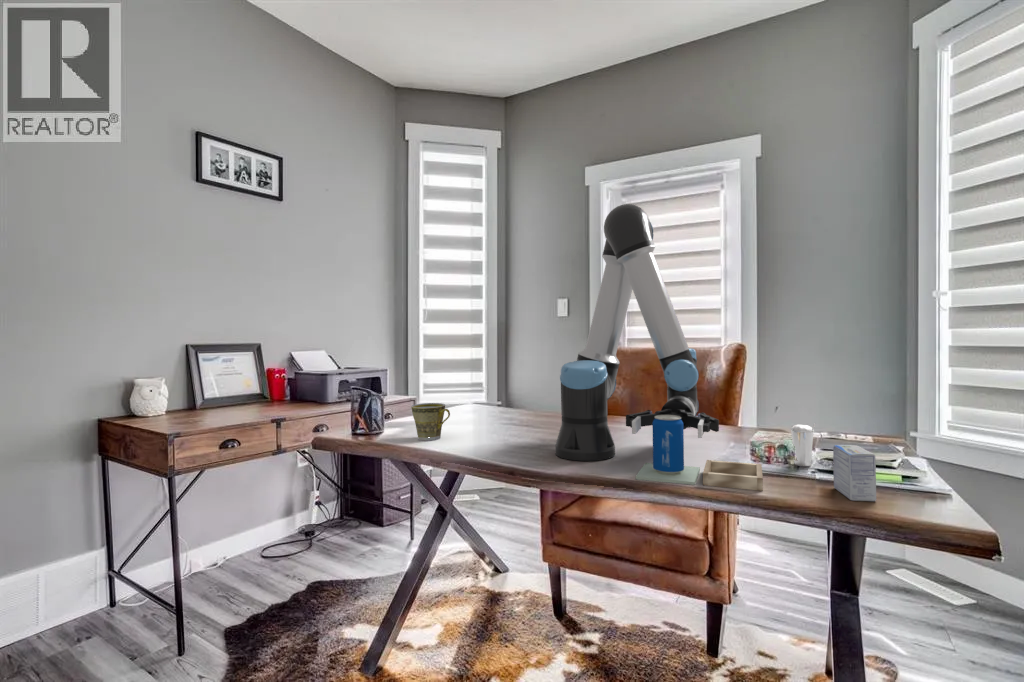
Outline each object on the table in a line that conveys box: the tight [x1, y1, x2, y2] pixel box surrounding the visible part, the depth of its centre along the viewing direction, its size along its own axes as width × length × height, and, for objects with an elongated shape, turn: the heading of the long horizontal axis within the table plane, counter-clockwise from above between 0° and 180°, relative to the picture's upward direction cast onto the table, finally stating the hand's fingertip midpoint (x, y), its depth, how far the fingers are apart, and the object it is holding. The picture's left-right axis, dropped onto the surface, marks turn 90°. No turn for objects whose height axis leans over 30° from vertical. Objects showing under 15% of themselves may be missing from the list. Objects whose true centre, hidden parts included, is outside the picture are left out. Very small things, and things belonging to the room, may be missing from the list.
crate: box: [702, 459, 764, 492], centre depth 111 cm, size 11×11×2 cm
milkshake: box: [790, 422, 816, 467], centre depth 122 cm, size 5×5×10 cm
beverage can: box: [652, 415, 685, 475], centre depth 117 cm, size 6×6×12 cm
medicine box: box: [832, 444, 877, 503], centre depth 101 cm, size 8×4×9 cm, turn 168°
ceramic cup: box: [411, 402, 451, 442], centre depth 159 cm, size 13×10×10 cm
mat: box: [635, 462, 701, 486], centre depth 117 cm, size 12×12×1 cm
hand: (665, 429), depth 113 cm, fingers open, 13 cm apart
